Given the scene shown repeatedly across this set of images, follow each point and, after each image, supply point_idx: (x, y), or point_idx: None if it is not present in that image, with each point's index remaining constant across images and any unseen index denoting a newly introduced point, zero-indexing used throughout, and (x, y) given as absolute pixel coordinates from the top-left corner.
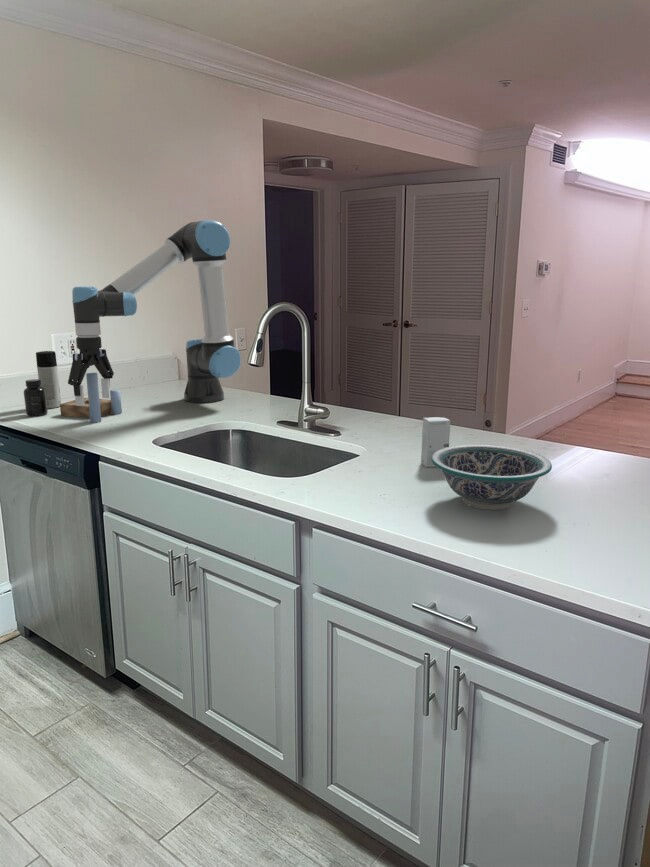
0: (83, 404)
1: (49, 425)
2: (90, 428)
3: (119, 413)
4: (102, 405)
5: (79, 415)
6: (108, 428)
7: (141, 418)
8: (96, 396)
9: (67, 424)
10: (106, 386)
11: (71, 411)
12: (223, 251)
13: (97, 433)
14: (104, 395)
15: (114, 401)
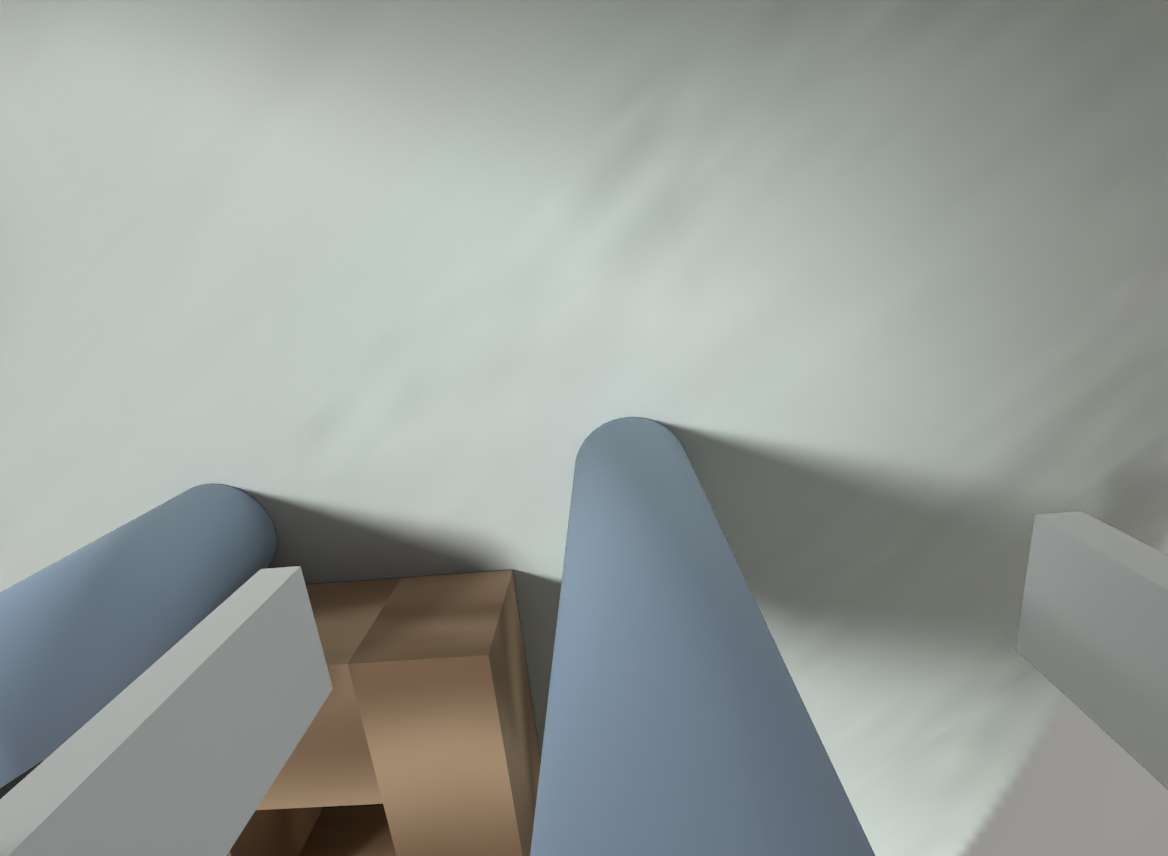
0: (1089, 526)
1: (905, 748)
2: (920, 311)
3: (226, 489)
4: (333, 654)
5: (534, 745)
6: (864, 96)
7: (243, 73)
8: (708, 584)
9: (823, 642)
10: (135, 801)
11: None
12: None
13: (1144, 34)
14: (297, 683)
15: (154, 598)
